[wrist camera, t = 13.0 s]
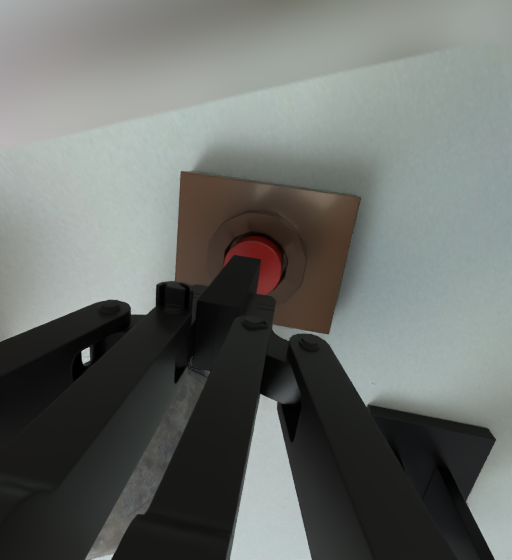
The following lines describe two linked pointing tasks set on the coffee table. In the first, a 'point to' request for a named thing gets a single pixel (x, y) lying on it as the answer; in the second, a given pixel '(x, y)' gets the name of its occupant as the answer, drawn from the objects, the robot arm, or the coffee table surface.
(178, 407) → the decorative stone
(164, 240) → the coffee table surface
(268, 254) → the button
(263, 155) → the coffee table surface
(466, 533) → the bracket
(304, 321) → the button block
